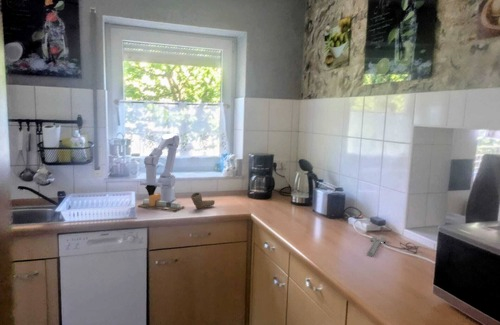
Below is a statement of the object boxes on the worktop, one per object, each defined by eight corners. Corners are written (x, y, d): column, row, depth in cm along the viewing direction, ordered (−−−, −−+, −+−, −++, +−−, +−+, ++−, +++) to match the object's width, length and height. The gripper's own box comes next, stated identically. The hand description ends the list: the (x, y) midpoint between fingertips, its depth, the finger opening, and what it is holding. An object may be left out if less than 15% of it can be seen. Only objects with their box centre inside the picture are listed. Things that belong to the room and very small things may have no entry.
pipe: (217, 207, 215) (217, 191, 214) (194, 211, 204) (194, 194, 203) (211, 205, 220) (211, 189, 219) (188, 208, 209) (188, 192, 208)
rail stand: (138, 206, 209) (138, 200, 209) (147, 203, 219) (147, 197, 218) (175, 211, 201) (175, 204, 201) (184, 207, 211) (184, 201, 210)
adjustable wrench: (373, 258, 141) (373, 254, 141) (357, 254, 145) (357, 250, 144) (387, 241, 162) (387, 237, 161) (373, 238, 165) (373, 235, 165)
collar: (149, 205, 208) (149, 195, 207) (156, 202, 215) (156, 193, 215) (153, 206, 207) (153, 196, 206) (160, 203, 214) (160, 193, 214)
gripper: (136, 175, 209) (137, 197, 210) (157, 177, 204) (157, 200, 206) (144, 174, 215) (144, 195, 217) (164, 175, 211) (164, 197, 212)
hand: (151, 197), depth 212 cm, fingers closed
